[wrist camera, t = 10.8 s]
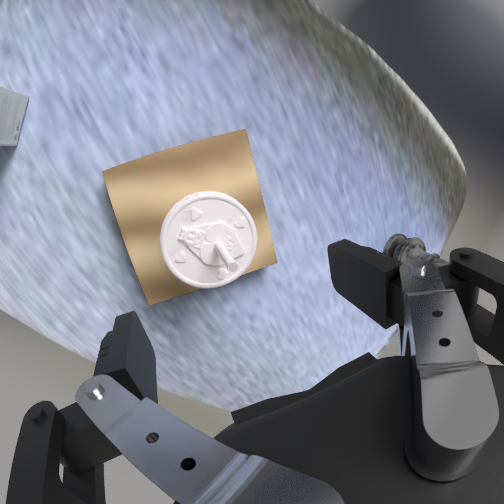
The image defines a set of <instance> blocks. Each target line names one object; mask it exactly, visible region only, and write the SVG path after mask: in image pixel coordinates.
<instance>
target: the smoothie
mask: <svg viewBox="0 0 504 504" xmlns="http://www.w3.org/2000/svg"><path fill="white" fill-rule="evenodd" d="M160 247H161V252H162V255H163V258H164V261H165V263H166V265H167V267H168V268H169V270H170V271H171V272H172V273H173V274H174V275H175V276H176V277H177V278H178V279H179V280H181V281H182V282H184V283H186V284H188V285H191V286H194V287H198V288H216V287H220V286H224V285H226V284H228V283H231V282H232V281H234V280H235V279H237V278H238V277H239V276H241V275H242V274H243V273H244V272H245V270H246V269H247V268H248V267H249V265H250V263H251V262H252V260H253V257H254V255H255V252H256V247H257V231H256V226H255V223H254V221H253V219H252V217H251V215H250V213H249V212H248V211H247V209H246V208H245V207H244V206H243V205H242V204H240V203H239V202H238V201H237V200H236V199H234V198H232V197H230V196H228V195H226V194H224V193H220V192H214V191H204V192H197V193H194V194H191V195H189V196H186V197H185V198H183V199H182V200H180V201H179V202H177V203H176V204H175V205H174V206H173V207H172V209H171V210H170V211H169V212H168V213H167V215H166V217H165V220H164V222H163V224H162V227H161V233H160Z"/></svg>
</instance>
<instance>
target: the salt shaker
mask: <svg viewBox="0 0 504 504" xmlns="http://www.w3.org/2000/svg"><path fill="white" fill-rule="evenodd" d="M383 254H385V255H388V256H390V257H392V258H394V259H396V260H398V261H400V262H403V263H404V262H407V261H410V260H415V259H422V260H427V261H430V262H432V263H434V264H435V265H436V267H441V266H444V265H448V264H449V262H447V261H445V260H442V259H440V257H439V255H438V254H436V253H434V254H429V253H427V252H426V248H425V244H424V242H423V241H422V240H421V239H420V238H416V237H414V238H408V239H407V238H406V237H405V236H404V235H402V234H395V235H393V236H392V237H391V238H390V239H389V240H388V241H387V243H386V245H385V247H384V251H383Z"/></svg>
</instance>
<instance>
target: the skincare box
mask: <svg viewBox="0 0 504 504" xmlns="http://www.w3.org/2000/svg"><path fill="white" fill-rule="evenodd" d="M28 101H29V96H27V95H24V94H22V93H19V92H16V91H13V90H10V89H8V88H5V87H3V86H0V146H17V143H18V138H19V133H20V129H21V125H22V121H23V118H24V115H25V111H26V107H27V104H28Z"/></svg>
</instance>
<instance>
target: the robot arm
mask: <svg viewBox="0 0 504 504" xmlns="http://www.w3.org/2000/svg"><path fill="white" fill-rule="evenodd" d="M328 258H329V265H330V272H331V279H332V283H333V286H334V288H335V290H336V291H337V292H338V293H339V294H340V295H342V296H343V297H344V298H346V299H347V300H348V301H350V302H351V303H352V304H353V305H355V306H356V307H357V308H359V309H360V310H361V311H363V312H364V313H365V314H366V315H368V316H369V317H370V318H372V319H373V320H374V321H375V322H377V323H378V324H379V325H381V326H382V327H383V328H385V329H388V328H389V327H391V326H393V325H395V324H396V323H398V324H399V328H398V336H399V353H400V356H392V357H386V358H381V359H378V360H377V359H376V358H375V357H374V356H372V355H371V354H370V353H369V352H368V353H366V354H364V355H362V356H360V357H359V358H357V359H355V360H353V361H351V362H349V363H347V364H345V365H343V366H341V367H339V368H338V369H336V370H335V371H334V372H332V373H331V374H330V375H328V376H327V377H326V378H325V379H323V380H322V381H321V382H319V383H318V384H316V385H315V386H314V387H312V388H311V389H309V390H307V391H303V392H299V393H294V394H289V395H285V396H280V397H275V398H270V399H266V400H263V401H261V402H258V403H255V404H253V405H250V406H247V407H244V408H241V409H239V410H236V411H233V412H231V414H232V417H233V420H234V423H233V424H231V425H230V426H228V427H227V428H225V429H224V430H223V431H221V432H220V433H219V434H218V435H217V436H215V437H214V438H212V437H210V436H208V435H206V434H204V433H203V432H201V431H199V430H197V429H195V428H194V427H192V426H191V425H189V424H187V423H186V422H184V421H183V420H181V419H179V418H178V417H176V416H174V415H173V414H171V413H170V412H168V411H167V410H165V409H164V408H162V407H161V406H159V405H158V399H157V382H156V358H155V353H154V350H153V347H152V345H151V342H150V340H149V338H148V336H147V334H146V332H145V330H144V328H143V326H142V324H141V322H140V320H139V318H138V316H137V314H136V312H135V311H132V312H129V313H125V314H122V315H119V316H116V319H115V323H114V327H113V331H110V332H108V333H107V334H106V336H105V337H104V338H103V340H102V342H101V346H100V351H99V354H98V358H97V362H96V367H95V371H94V375H93V377H91V378H90V379H88V380H86V381H85V382H84V383H83V384H82V385H81V386H80V387H79V388H78V390H77V392H76V396H75V397H76V401H77V402H75V403H73V404H71V405H69V406H67V407H65V408H63V409H61V410H58V409H57V408H56V407H55V406H54V404H53V403H52V402H50V401H42V402H39V403H37V404H35V405H33V406H32V407H31V408H30V409H29V410H28V411H27V413H26V414H25V416H24V419H23V422H22V426H21V429H20V433H19V437H18V441H17V445H16V449H15V454H14V459H13V463H12V468H11V473H10V479H9V485H8V492H7V499H6V504H106V502H105V488H104V464H103V463H104V462H106V461H109V460H111V459H113V458H115V457H117V456H119V455H121V454H123V455H124V456H125V457H126V458H127V459H128V460H129V461H130V462H131V463H132V464H133V465H134V466H135V467H136V468H137V469H138V470H140V472H142V473H143V474H144V475H145V476H146V477H147V478H148V479H150V480H151V481H152V482H153V483H154V484H155V485H156V486H158V487H159V488H160V489H161V490H162V491H164V492H165V493H166V494H167V495H168V496H170V497H171V498H172V499H174V500H175V502H174V504H504V366H499V365H488V364H485V363H483V362H481V361H480V360H479V357H478V354H477V351H476V348H475V344H474V342H475V343H476V344H477V345H479V346H480V347H481V348H483V349H484V350H485V351H487V352H488V353H489V354H491V355H492V356H493V357H495V358H496V359H497V360H498V361H500V362H501V363H502V364H504V262H502V261H500V260H498V259H495V258H493V257H491V256H489V255H487V254H484V253H482V252H480V251H477V250H475V249H472V248H458V249H455V250H453V251H452V252H451V253H450V262H449V264H448V265H444V266H441V267H436V265H435V264H434V263H432V262H430V261H427V260H422V259H415V260H410V261H407V262H404V263H403V262H400V261H398V260H396V259H394V258H392V257H390V256H388V255H385V254H383V253H381V252H379V251H377V250H375V249H373V248H370V247H365V246H360V245H358V244H356V243H353V242H351V241H349V240H347V239H343V240H341V241H338V242H335V243H332V244H330V245H329V246H328ZM479 288H481V289H483V290H485V291H487V292H488V293H490V294H492V295H493V296H494V297H495V299H496V301H497V309H496V314H493V313H491V312H490V311H488V310H486V309H485V308H483V307H481V306H480V305H478V304H477V301H478V294H479ZM60 463H61V464H62V465H63V466H64V470H63V483H62V482H61V479H60V476H59V465H60Z"/></svg>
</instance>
